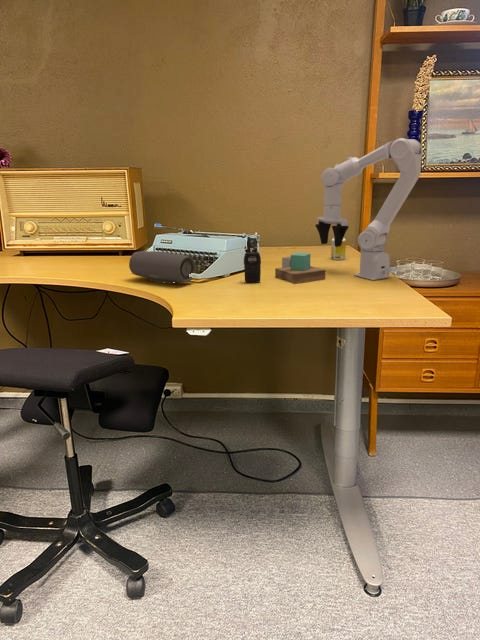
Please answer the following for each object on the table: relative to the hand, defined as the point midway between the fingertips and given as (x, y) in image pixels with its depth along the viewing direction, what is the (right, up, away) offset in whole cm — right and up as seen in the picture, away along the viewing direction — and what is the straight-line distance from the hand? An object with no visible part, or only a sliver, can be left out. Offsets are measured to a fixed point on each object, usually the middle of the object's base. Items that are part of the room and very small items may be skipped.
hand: (330, 245), depth 165 cm
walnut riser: (-12, -12, -6) cm, 18 cm away
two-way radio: (-28, -14, -10) cm, 32 cm away
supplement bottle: (+8, -2, +26) cm, 27 cm away
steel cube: (-13, -9, +5) cm, 17 cm away
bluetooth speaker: (-58, -14, -6) cm, 60 cm away
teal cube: (-12, -9, -7) cm, 16 cm away
